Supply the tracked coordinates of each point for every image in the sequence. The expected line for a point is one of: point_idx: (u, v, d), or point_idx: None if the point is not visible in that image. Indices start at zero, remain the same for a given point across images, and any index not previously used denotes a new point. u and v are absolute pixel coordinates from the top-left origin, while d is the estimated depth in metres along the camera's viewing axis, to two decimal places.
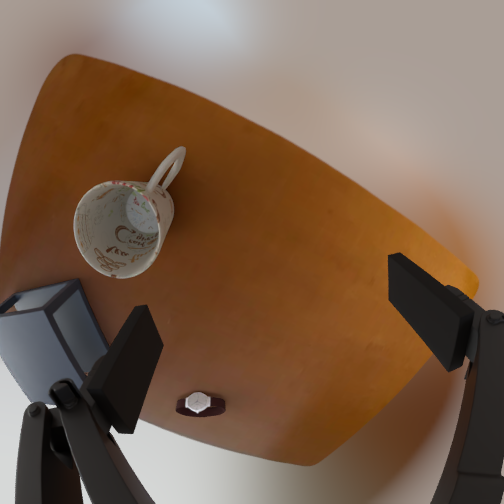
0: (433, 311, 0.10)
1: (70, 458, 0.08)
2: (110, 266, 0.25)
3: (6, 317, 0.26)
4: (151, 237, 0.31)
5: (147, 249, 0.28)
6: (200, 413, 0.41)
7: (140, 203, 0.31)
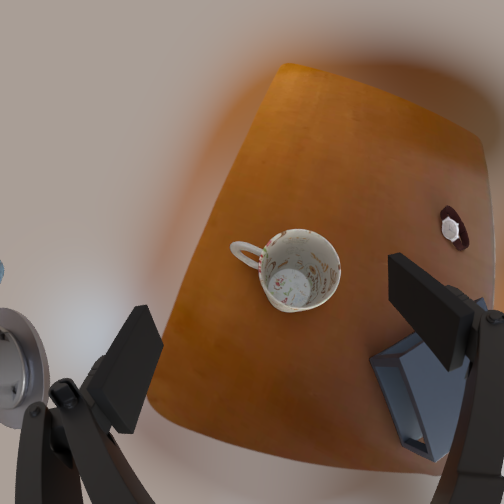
0: (433, 311, 0.10)
1: (70, 458, 0.08)
2: (334, 277, 0.30)
3: (422, 416, 0.24)
4: (311, 278, 0.37)
5: (317, 265, 0.34)
6: (462, 228, 0.40)
7: (285, 296, 0.38)
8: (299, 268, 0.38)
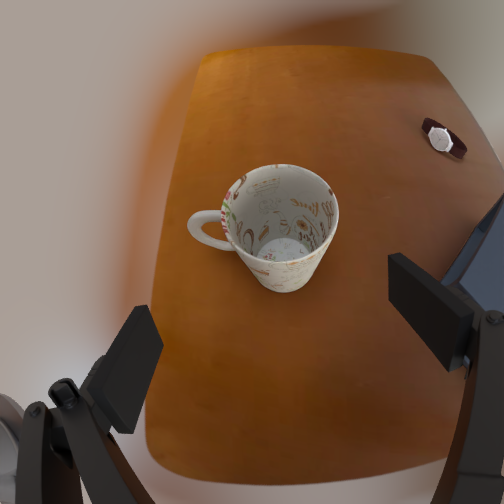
0: (433, 311, 0.10)
1: (70, 458, 0.08)
2: (330, 209, 0.21)
3: None
4: (305, 238, 0.29)
5: (305, 213, 0.26)
6: (451, 136, 0.33)
7: None
8: (286, 233, 0.30)
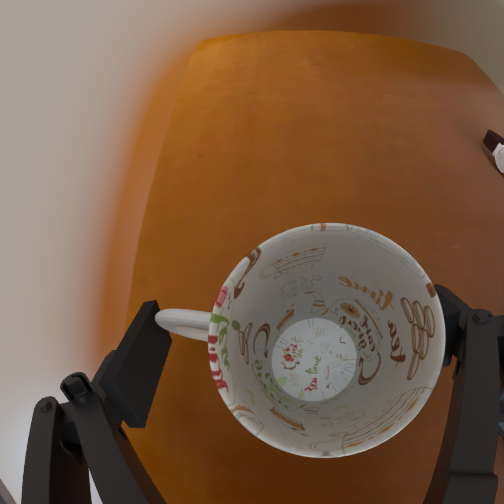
0: None
1: (80, 454, 0.08)
2: (422, 319, 0.10)
3: None
4: (351, 325, 0.17)
5: (361, 298, 0.14)
6: None
7: (311, 376, 0.17)
8: (320, 314, 0.18)
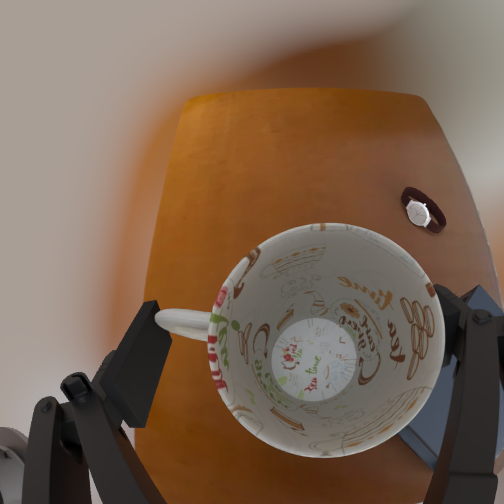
0: None
1: (80, 454, 0.08)
2: (421, 319, 0.10)
3: (438, 454, 0.17)
4: (351, 325, 0.17)
5: (360, 298, 0.14)
6: (432, 206, 0.36)
7: (311, 376, 0.17)
8: (320, 314, 0.18)
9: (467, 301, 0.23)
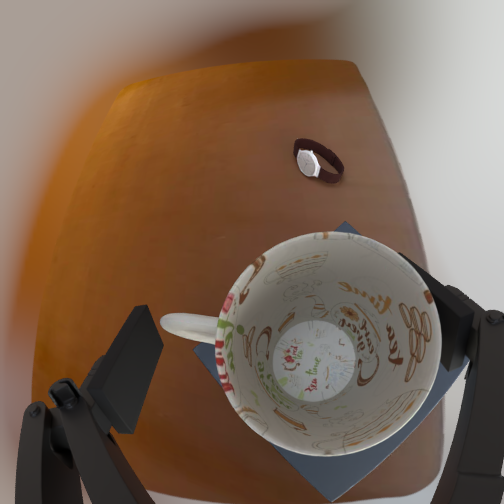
0: None
1: (70, 458, 0.08)
2: (419, 324, 0.10)
3: None
4: (350, 327, 0.17)
5: (360, 302, 0.15)
6: (331, 156, 0.35)
7: (311, 377, 0.18)
8: (320, 316, 0.18)
9: None
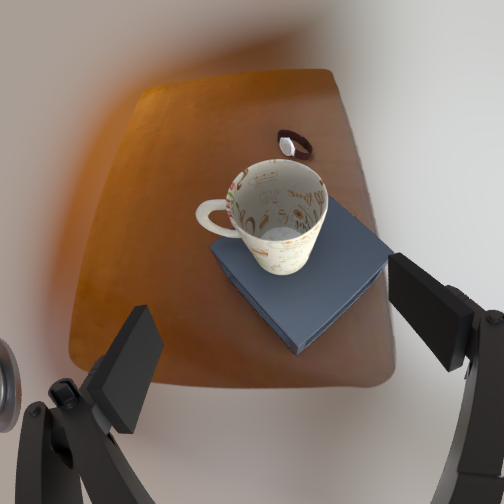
0: (433, 311, 0.10)
1: (70, 458, 0.08)
2: (321, 198, 0.25)
3: (253, 295, 0.31)
4: (301, 226, 0.32)
5: (300, 202, 0.29)
6: (304, 142, 0.50)
7: None
8: (284, 222, 0.33)
9: None
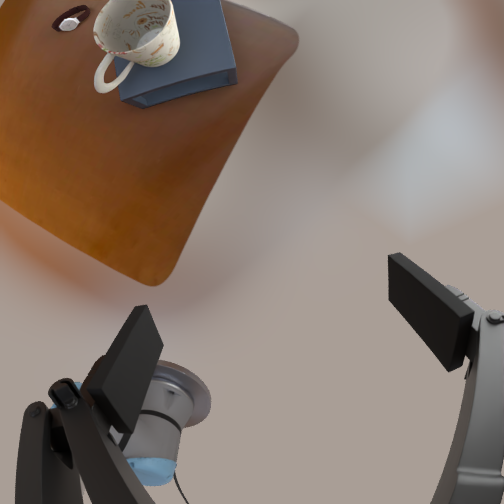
0: (433, 311, 0.10)
1: (70, 458, 0.08)
2: None
3: (178, 80, 0.31)
4: (150, 24, 0.27)
5: (137, 13, 0.23)
6: (74, 10, 0.31)
7: None
8: (138, 35, 0.27)
9: None
